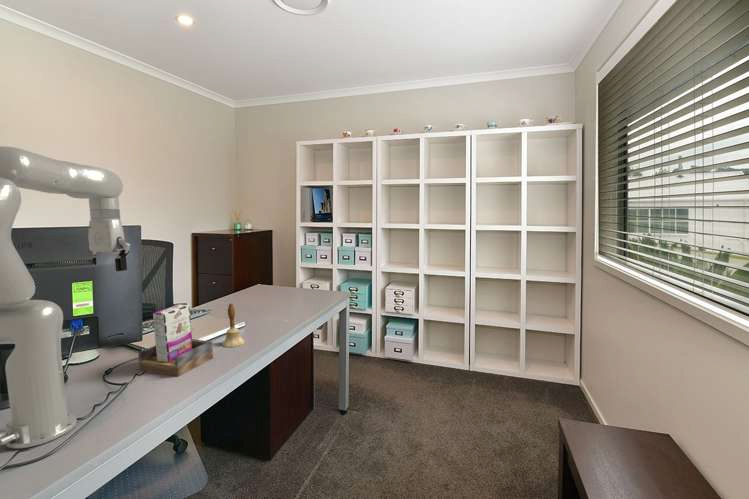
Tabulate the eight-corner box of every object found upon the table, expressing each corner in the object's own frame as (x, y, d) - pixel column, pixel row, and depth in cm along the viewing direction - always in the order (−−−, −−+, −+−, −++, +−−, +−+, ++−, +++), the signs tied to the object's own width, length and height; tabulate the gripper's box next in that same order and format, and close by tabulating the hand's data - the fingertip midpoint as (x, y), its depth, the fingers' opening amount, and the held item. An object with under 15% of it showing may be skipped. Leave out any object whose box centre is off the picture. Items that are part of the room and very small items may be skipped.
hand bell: (237, 348, 138) (235, 306, 136) (217, 347, 139) (215, 306, 138) (248, 340, 146) (246, 301, 145) (229, 339, 148) (227, 300, 146)
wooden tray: (178, 376, 115) (177, 358, 114) (139, 370, 120) (138, 352, 119) (213, 358, 129) (212, 341, 128) (177, 353, 134) (176, 337, 133)
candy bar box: (181, 349, 129) (178, 303, 127) (193, 350, 128) (190, 304, 126) (155, 362, 118) (151, 312, 117) (168, 363, 117) (164, 313, 115)
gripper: (72, 216, 113) (78, 270, 115) (113, 215, 107) (118, 273, 109) (97, 215, 120) (102, 267, 122) (137, 215, 115) (141, 269, 116)
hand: (110, 270), depth 115 cm, fingers open, 9 cm apart
